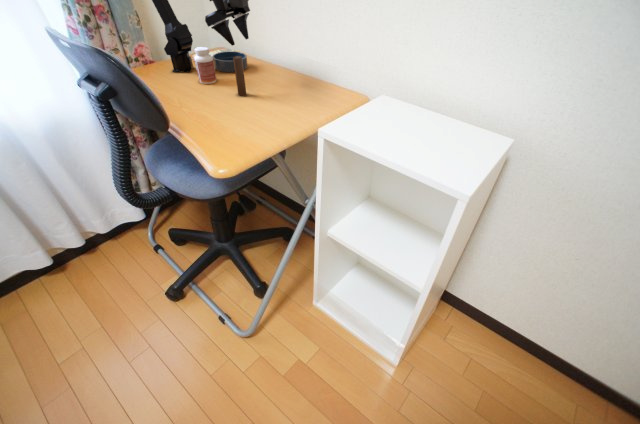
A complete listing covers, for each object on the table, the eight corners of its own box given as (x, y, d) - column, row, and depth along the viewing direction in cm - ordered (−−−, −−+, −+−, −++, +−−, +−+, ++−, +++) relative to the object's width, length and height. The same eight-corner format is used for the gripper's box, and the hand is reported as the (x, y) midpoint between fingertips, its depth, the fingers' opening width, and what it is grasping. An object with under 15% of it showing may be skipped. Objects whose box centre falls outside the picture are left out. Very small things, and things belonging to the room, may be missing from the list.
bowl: (211, 72, 120) (209, 60, 117) (217, 62, 130) (215, 50, 127) (245, 73, 121) (244, 61, 118) (249, 63, 131) (248, 51, 128)
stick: (237, 96, 104) (232, 58, 96) (238, 93, 107) (233, 55, 99) (246, 96, 105) (241, 58, 97) (246, 93, 107) (242, 56, 99)
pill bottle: (220, 81, 114) (214, 48, 107) (206, 85, 110) (200, 52, 103) (209, 77, 117) (203, 45, 109) (195, 81, 113) (188, 48, 105)
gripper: (218, -19, 88) (244, 40, 96) (251, -24, 101) (271, 28, 109) (192, -3, 93) (218, 51, 101) (226, -10, 106) (247, 39, 114)
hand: (240, 42), depth 106 cm, fingers open, 9 cm apart
